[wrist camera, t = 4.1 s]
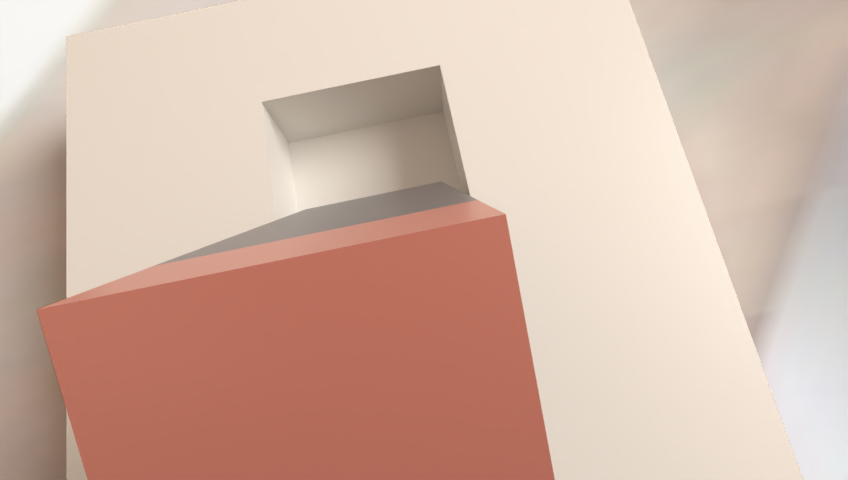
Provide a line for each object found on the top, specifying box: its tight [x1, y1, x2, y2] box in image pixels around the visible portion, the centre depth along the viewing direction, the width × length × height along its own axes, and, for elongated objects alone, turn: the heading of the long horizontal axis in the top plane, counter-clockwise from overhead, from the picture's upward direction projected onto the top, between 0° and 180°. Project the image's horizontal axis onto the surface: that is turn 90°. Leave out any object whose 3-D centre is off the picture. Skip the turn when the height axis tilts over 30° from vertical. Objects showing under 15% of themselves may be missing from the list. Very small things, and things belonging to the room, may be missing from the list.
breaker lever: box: [37, 182, 555, 480], centre depth 10 cm, size 2×4×11 cm, turn 100°
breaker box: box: [66, 0, 803, 480], centre depth 15 cm, size 20×16×4 cm
